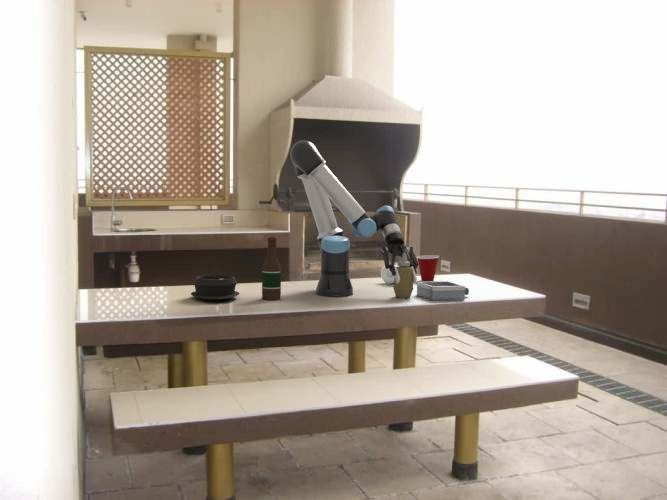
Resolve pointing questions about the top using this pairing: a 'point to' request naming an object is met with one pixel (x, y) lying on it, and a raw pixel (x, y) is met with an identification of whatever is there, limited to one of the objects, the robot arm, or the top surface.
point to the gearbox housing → (441, 290)
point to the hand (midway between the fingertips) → (406, 281)
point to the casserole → (215, 287)
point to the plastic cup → (427, 266)
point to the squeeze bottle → (404, 279)
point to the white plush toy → (387, 275)
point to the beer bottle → (271, 273)
